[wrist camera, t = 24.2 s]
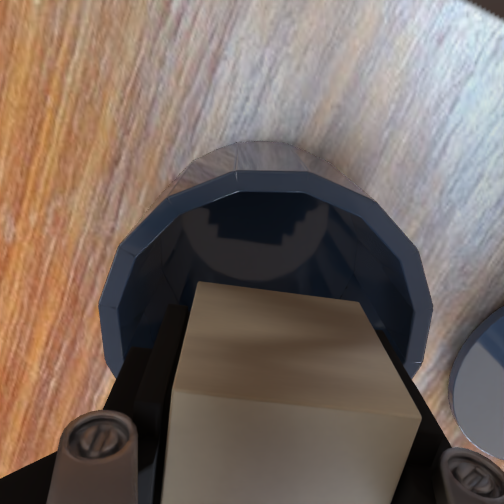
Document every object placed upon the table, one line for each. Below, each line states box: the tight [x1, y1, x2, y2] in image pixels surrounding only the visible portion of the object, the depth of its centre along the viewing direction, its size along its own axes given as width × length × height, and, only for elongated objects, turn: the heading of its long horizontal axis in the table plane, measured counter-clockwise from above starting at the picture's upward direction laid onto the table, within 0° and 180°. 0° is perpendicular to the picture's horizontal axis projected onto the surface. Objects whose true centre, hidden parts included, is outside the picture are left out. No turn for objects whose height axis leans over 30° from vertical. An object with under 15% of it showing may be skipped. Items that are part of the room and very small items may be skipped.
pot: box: [98, 141, 433, 380], centre depth 17 cm, size 10×10×8 cm
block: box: [160, 281, 422, 504], centre depth 10 cm, size 4×4×4 cm
